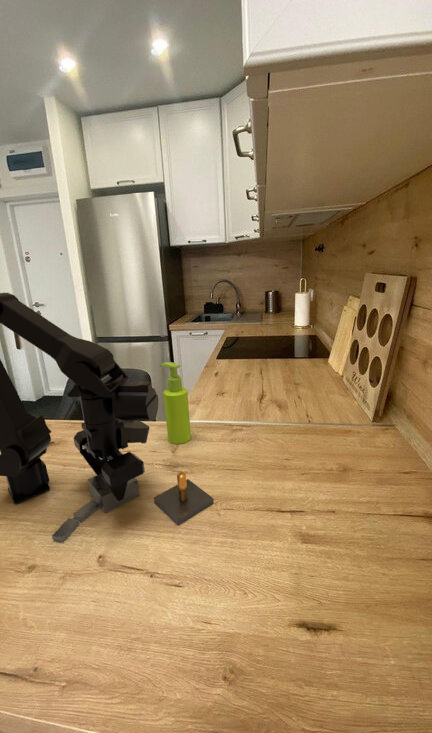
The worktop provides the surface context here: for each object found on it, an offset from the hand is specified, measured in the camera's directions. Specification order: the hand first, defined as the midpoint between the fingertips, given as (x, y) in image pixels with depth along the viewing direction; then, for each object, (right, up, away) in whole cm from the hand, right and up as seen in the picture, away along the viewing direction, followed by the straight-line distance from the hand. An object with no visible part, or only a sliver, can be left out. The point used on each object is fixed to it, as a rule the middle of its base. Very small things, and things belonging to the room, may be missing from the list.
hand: (112, 490), depth 64 cm
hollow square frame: (0, -1, +1) cm, 1 cm away
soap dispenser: (+10, +6, +21) cm, 24 cm away
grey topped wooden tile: (-3, -3, -4) cm, 6 cm away
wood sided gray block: (-5, -4, -8) cm, 11 cm away
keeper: (+14, -1, -2) cm, 14 cm away
